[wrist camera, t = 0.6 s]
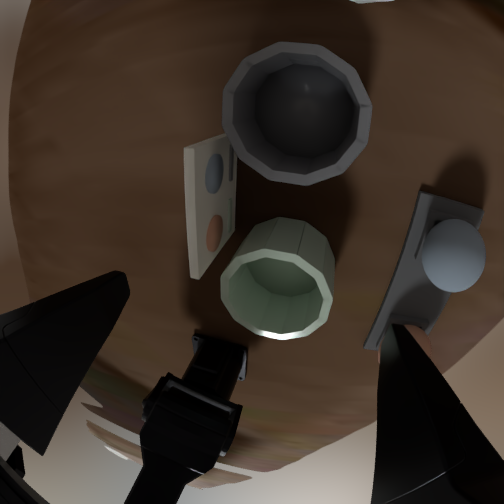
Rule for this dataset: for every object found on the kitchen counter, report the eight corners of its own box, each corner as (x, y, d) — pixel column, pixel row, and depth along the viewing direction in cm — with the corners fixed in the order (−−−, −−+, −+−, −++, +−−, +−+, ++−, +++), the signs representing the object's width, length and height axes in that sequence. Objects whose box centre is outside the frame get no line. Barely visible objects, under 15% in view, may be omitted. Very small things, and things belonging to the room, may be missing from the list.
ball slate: (457, 271, 19) (476, 310, 14) (406, 260, 20) (420, 301, 15) (478, 216, 16) (507, 248, 12) (425, 201, 17) (448, 231, 13)
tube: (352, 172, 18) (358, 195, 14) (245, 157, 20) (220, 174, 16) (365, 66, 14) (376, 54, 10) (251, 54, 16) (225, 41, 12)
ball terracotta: (413, 352, 24) (418, 392, 20) (369, 346, 25) (370, 388, 21) (434, 316, 21) (446, 358, 17) (387, 309, 22) (392, 352, 18)
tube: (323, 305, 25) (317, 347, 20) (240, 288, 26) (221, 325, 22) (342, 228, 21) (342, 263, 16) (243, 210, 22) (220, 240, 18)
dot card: (237, 231, 23) (202, 280, 17) (227, 229, 23) (190, 277, 18) (241, 132, 19) (197, 148, 13) (230, 131, 19) (183, 148, 13)
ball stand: (414, 351, 25) (416, 359, 24) (363, 344, 26) (363, 353, 25) (481, 209, 16) (487, 214, 15) (419, 190, 17) (423, 195, 16)
